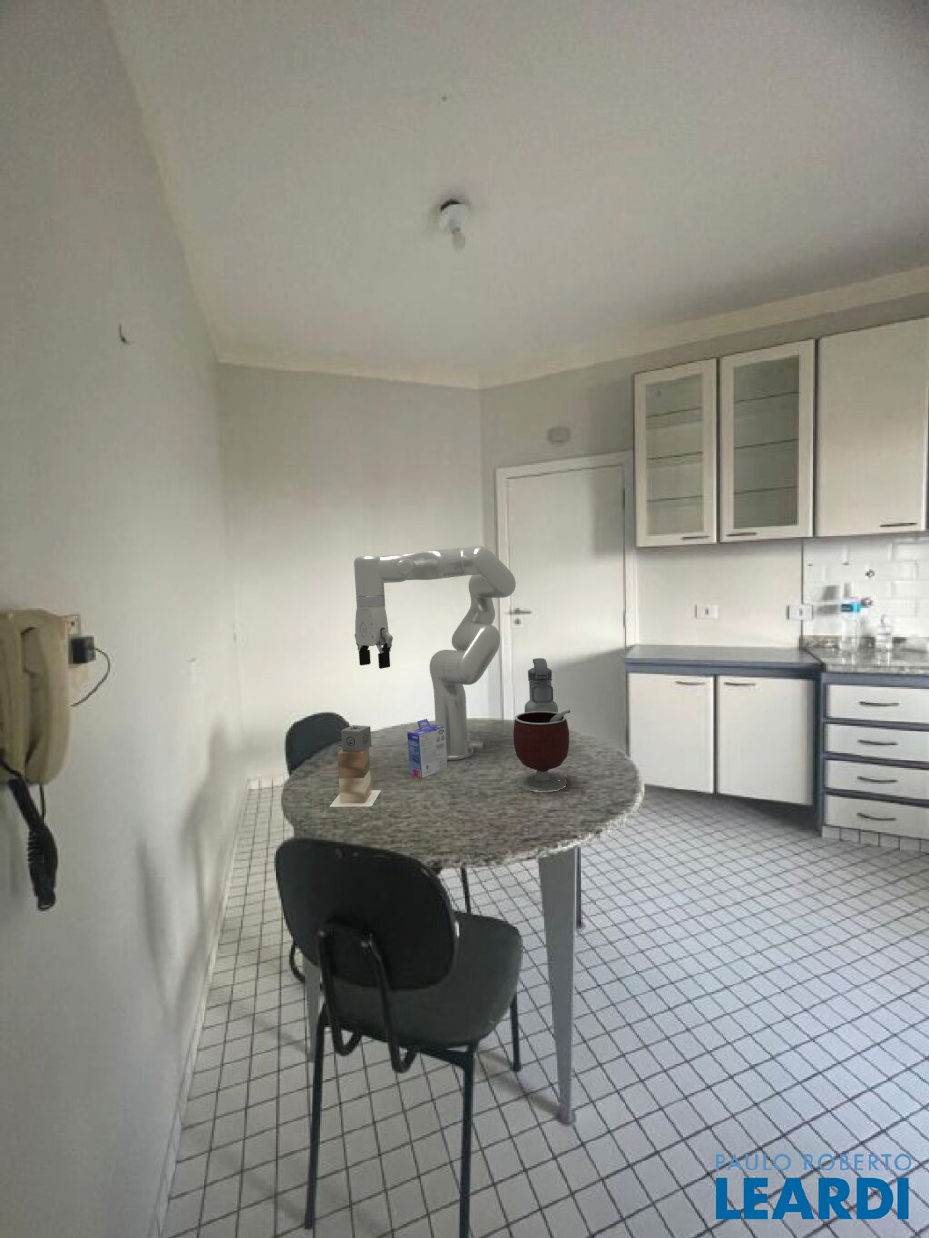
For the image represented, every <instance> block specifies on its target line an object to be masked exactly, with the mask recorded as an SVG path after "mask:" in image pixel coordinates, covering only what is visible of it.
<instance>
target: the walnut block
mask: <svg viewBox="0 0 929 1238" xmlns="http://www.w3.org/2000/svg"><path fill="white" fill-rule="evenodd" d="M370 763H371V762H370V748H368V749H366V750H364V751H362V752H361V753H359V752H347V751H342V748H341V749H340V751H338V752H337V770H338V771H337V772H338V779H339V778H364V777H365V776H366V774H367V773H368V771H369V770H370V771H371V767H370V766H371V765H370Z"/></svg>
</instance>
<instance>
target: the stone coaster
mask: <svg viewBox="0 0 929 1238" xmlns="http://www.w3.org/2000/svg"><path fill="white" fill-rule="evenodd" d="M381 791H382V790H381V789H371V795H370V796H369V798H368V799H367V801H366V803H340V793H339V794H338V795H337V796H336V798H335V799H333V802H332V803H331V804H330V805H329V807H330V808H348V807H349V808H351V807H359V808H360V807H372V806H374V803H375V802H376V799H377V798H378V797H379V795H380V793H381Z"/></svg>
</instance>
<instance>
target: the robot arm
mask: <svg viewBox="0 0 929 1238" xmlns="http://www.w3.org/2000/svg"><path fill="white" fill-rule="evenodd" d="M353 566H354V567H353V568H354V569H353V570H354V583H355V598H356V611H355V621H354V623H355V626H354V628H355V629H354V632H355V633H354V638H355V644H356V645H357V651H358V661H359V666H369V665H371V662H372V661H371V649H369V648H370V647H375V646H376V648H377V650H378V652H379V653H377V658H378V668H379V670H381V669H387V668H388V669H389V668H390V667H391V658H390V657H391V654H390V653H391V649H392V647H393V644H392V643H393V640H394V637H393V636H392V634H390V632H389V624H388V618H387V610H386V595H385V584H389V583H390V584H391V583H393V584H394V583H402V582H403V583H404V582H405V581H430V580H440V579H441V580H442V579H447V578H449V579H450V578H457V577H458V578H459V577H466V576H470V578H469V581H468V592H469V596H470V607H469V609H468V611H467V613H466V614H465V616H464V618H462V620H461V622H460V623H459V625H458V626H457V628H456V629H455V631H454V632H453V634H452V637H451V645H452V647H453V649H442V650H439V651H437V652H435V653H434V654H433V655H432V657H431V658H430V661H429V673H430V677H431V681H432V688H433V696H434V697H433V698H434V699H433V700H434V702H433V703H434V722H435V724H434V725H438V726H443V727H445V738H446V754H447V761H457V760H463V759H466V758H467V759H468V758H469V757H472V756H473V754H474V749H477V750H478V749H480V750H481V749H482V750H483V747H484V744H483V741H480V740H471V739H470V735H468V717H467V714H468V713H467V695H466V690H465V687H464V686H471V685H474V684H475V683H477V682H478V681H479V680H480V679H481V678H482V677H483V675H484V674H485V672H486V670H487V669H488V668H489V665H490V664H491V662H492V661H493V659H494V657H495V656H496V654H497V653H498V651H499V648H500V644H501V635H500V632H499V630H498V628H497V627H496V626H495V625H493V623H494V620H496V619H495V618H496V611H495V606H494V603H493V602H494V601H493V598H495V599H498V598H499V599H501V598H502V599H503V598H507V597H509V596H511V595H512V594H513V593H514V591H515V590H516V578H515V576H514V574H513V573H512V572H511V570H510V569H509V568H508V567H507V566H506V565H505V563H503V561H502V560H500V559H499V557H498V556H497V555H495V553H493V552H492V551H491V550H490V549H488V548H487V547H484V546H482V545H481V546H479V545H477V546H469V547H467V546H466V547H459V548H445V549H431V550H425V551H419V552H414V553H408V554H392V555H391V554H390V555H389V554H387V555H382V556H378V555H364V556H357V557H356V558H355V559H354V561H353Z"/></svg>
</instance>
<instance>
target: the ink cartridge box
mask: <svg viewBox="0 0 929 1238" xmlns="http://www.w3.org/2000/svg"><path fill="white" fill-rule="evenodd" d="M422 723H423V725H422ZM424 723H426V724H424ZM417 724H418V729H415V730H412V731H408V732H407V733H406V734H407V746H408V758H409V773H410V775H413V776H416V777H419V778H426V777H428V776H430V775H433V774H436V773H438V772H441V771H444V770H447V769H448V760H447V754H446V738H445V727H443V726H438V725H435V724H430V723H429V719H427V718H424V719H421V720H418V721H417Z"/></svg>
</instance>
